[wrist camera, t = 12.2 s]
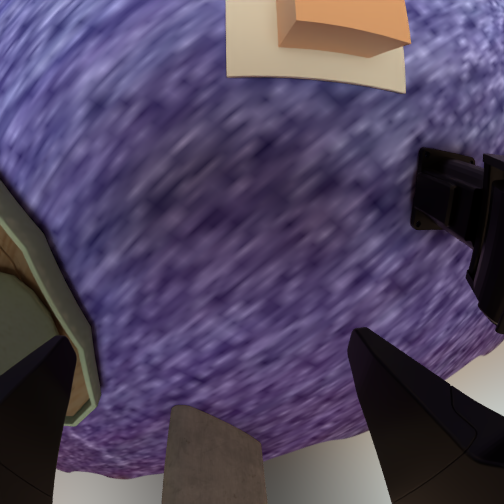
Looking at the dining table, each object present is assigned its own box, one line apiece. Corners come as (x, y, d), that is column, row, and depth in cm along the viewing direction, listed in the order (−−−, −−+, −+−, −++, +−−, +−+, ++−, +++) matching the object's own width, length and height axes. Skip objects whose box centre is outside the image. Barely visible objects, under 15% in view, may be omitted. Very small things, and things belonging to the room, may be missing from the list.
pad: (389, -17, 11) (392, -20, 10) (401, 93, 15) (405, 93, 15) (226, -41, 10) (226, -45, 10) (226, 77, 14) (226, 76, 14)
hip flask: (166, 409, 28) (152, 563, 10) (189, 399, 27) (182, 570, 9) (247, 450, 34) (257, 565, 16) (270, 442, 33) (286, 563, 15)
